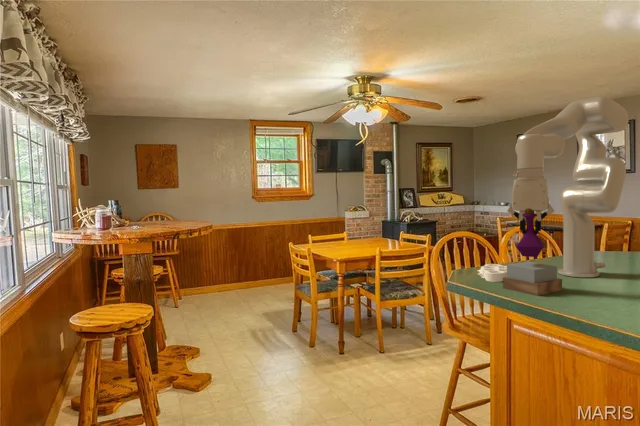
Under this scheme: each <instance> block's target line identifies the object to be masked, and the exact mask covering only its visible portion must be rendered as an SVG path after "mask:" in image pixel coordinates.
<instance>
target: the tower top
mask: <svg viewBox="0 0 640 426" xmlns="http://www.w3.org/2000/svg"><path fill="white" fill-rule="evenodd" d="M506 266H507V277H508V278H513V279H517V280H522V281H527V282H531V283H538V282H544V281H550V280H556V279H557V278H558V266H557V265H550V264H545V263H539V262H532V261H524V262H523V261H522V262H518V263H517V262H516V263H511V264H506Z"/></svg>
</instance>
